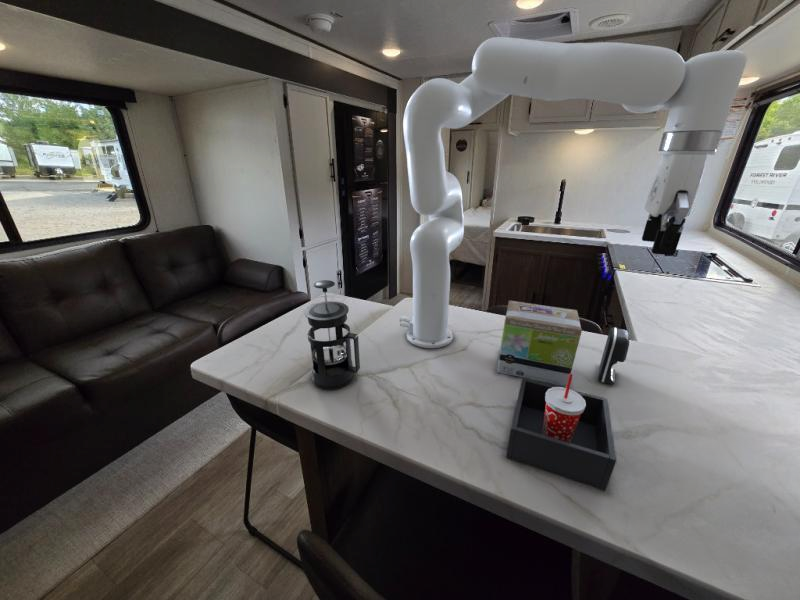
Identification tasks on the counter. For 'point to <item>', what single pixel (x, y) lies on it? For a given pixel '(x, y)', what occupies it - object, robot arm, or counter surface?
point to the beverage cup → (562, 412)
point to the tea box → (539, 342)
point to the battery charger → (613, 354)
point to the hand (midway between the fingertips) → (656, 247)
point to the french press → (331, 342)
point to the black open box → (576, 460)
